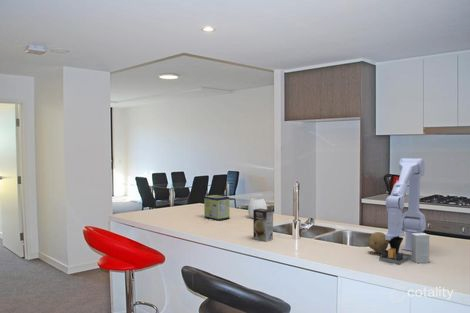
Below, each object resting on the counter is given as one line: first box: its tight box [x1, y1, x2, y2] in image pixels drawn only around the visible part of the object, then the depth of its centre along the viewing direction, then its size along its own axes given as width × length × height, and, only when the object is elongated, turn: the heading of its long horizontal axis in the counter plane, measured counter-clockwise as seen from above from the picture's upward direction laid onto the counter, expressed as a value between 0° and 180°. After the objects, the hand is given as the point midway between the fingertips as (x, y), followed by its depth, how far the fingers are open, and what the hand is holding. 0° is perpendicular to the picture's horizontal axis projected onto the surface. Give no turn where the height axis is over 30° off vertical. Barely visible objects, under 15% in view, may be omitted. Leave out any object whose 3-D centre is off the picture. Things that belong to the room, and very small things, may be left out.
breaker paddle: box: [387, 247, 396, 258], centre depth 175 cm, size 3×2×4 cm, turn 134°
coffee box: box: [252, 208, 274, 243], centre depth 217 cm, size 9×6×16 cm
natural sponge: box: [367, 231, 390, 255], centre depth 188 cm, size 9×9×10 cm
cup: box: [247, 197, 268, 219], centre depth 280 cm, size 13×13×14 cm
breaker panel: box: [378, 249, 412, 265], centre depth 178 cm, size 13×9×4 cm
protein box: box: [203, 194, 231, 222], centre depth 279 cm, size 10×16×16 cm
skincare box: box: [411, 232, 430, 264], centre depth 174 cm, size 6×4×12 cm
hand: (394, 253), depth 177 cm, fingers closed
